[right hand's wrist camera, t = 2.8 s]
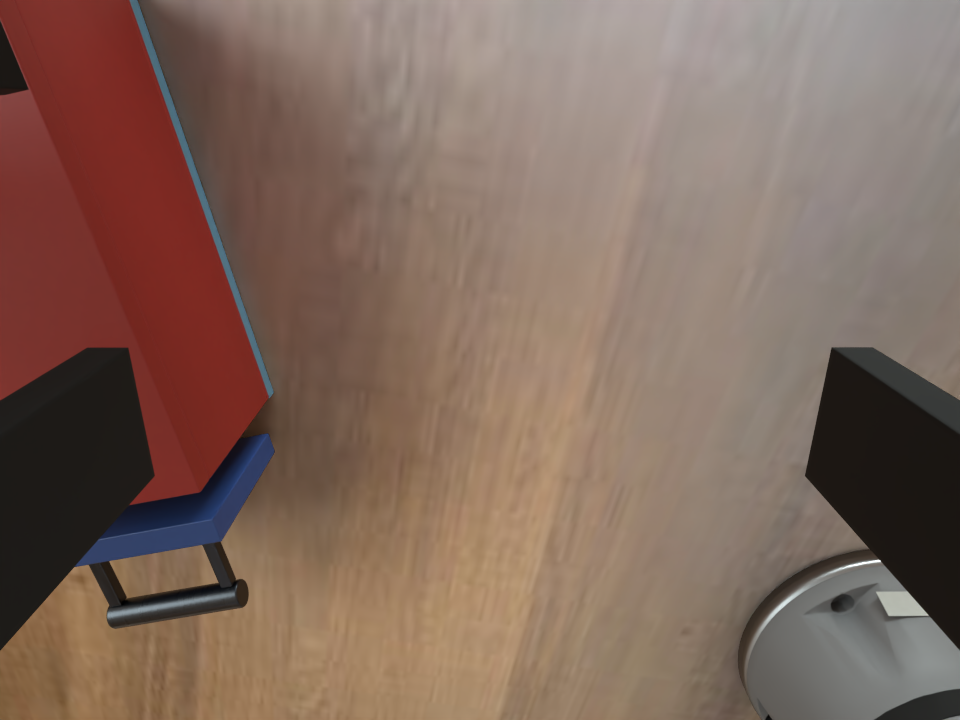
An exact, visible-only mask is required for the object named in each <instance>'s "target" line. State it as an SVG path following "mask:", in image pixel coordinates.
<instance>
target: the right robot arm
mask: <svg viewBox="0 0 960 720" xmlns="http://www.w3.org/2000/svg"><path fill="white" fill-rule="evenodd" d="M154 476H155V474H154V469H153V464H152V459H151V454H150V450H149V445H148V440H147V435H146V430H145V426H144V421H143V416H142V411H141V406H140V401H139V397H138V392H137V387H136V382H135V377H134V372H133V368H132V363H131V358H130V353H129V348H86V349H84V350H82V351H81V352H79V353H77V354H76V355H74V356H73V357H71V358H69V359H68V360H66V361H64V362H63V363H61V364H59V365H58V366H56V367H54V368H53V369H51V370H50V371H48V372H46V373H45V374H43V375H41V376H40V377H38V378H36V379H35V380H33V381H31V382H30V383H28V384H26V385H25V386H23V387H22V388H20V389H18V390H17V391H15V392H13V393H12V394H10V395H8V396H7V397H5V398H3V399H2V400H0V650H1V649H2V648H3V647H4V646H5V645H6V643H7V642H8V641H9V640H10V639H11V638H12V637H13V636H14V634H15V633H16V632H17V631H18V630H19V629H20V628H21V627H22V625H23V624H24V623H25V622H26V621H27V620H28V619H29V617H30V616H31V615H32V614H33V613H34V612H35V611H36V610H37V608H38V607H39V606H40V605H41V604H42V603H43V602H44V601H45V599H46V598H47V597H48V596H49V595H50V594H51V593H52V592H53V590H54V589H55V588H56V587H57V586H58V585H59V584H60V582H61V581H62V580H63V579H64V578H65V577H66V576H67V575H68V573H69V572H70V571H71V570H72V569H73V568H74V567H75V566H76V564H77V563H78V562H79V561H80V560H81V559H82V558H83V557H84V555H85V554H86V553H87V552H88V551H89V550H90V549H91V547H92V546H93V545H94V544H95V543H96V542H97V541H98V540H99V538H100V537H101V536H102V535H103V534H104V533H105V532H106V531H107V529H108V528H109V527H110V526H111V525H112V524H113V523H114V522H115V520H116V519H117V518H118V517H119V516H120V515H121V514H122V512H123V511H124V510H125V509H126V508H127V507H128V506H129V505H130V503H131V502H132V501H133V500H134V499H135V498H136V497H137V496H138V494H139V493H140V492H141V491H142V490H143V489H144V488H145V487H146V485H147V484H148V483H149V482H150V481H151V480H152V479H153V477H154ZM805 476H806V477H807V479H808V480H809V481H810V482H811V483H812V484H813V485H814V487H815V488H816V489H817V490H818V491H819V492H820V493H821V494H822V496H823V497H824V498H825V499H826V500H827V501H828V502H829V503H830V505H831V506H832V507H833V508H834V509H835V510H836V511H837V512H838V514H839V515H840V516H841V517H842V518H843V519H844V520H845V522H846V523H847V524H848V525H849V526H850V527H851V528H852V529H853V531H854V532H855V533H856V534H857V535H858V536H859V537H860V538H861V540H862V541H863V542H864V543H865V544H866V545H867V546H868V547H869V549H870V550H865V551H858V552H852V553H848V554H843V555H839V556H836V557H833V558H830V559H827V560H824V561H822V562H819V563H817V564H814V565H812V566H810V567H808V568H806V569H804V570H802V571H801V572H799V573H797V574H795V575H794V576H792V577H791V578H789V579H788V580H786V581H785V582H784V583H782V584H781V585H780V586H779V587H777V588H776V589H775V590H774V591H773V592H772V593H771V594H770V595H769V596H768V597H766V599H765V600H764V601H763V602H762V603H761V604H760V605H759V607H758V608H757V609H756V611H755V612H754V614H753V615H752V617H751V618H750V620H749V622H748V623H747V626H746V628H745V630H744V632H743V635H742V638H741V641H740V646H739V652H738V668H739V673H740V677H741V680H742V683H743V686H744V688H745V690H746V692H747V694H748V697H749V699H750V701H751V703H752V705H753V707H754V709H755V711H756V712H757V713H758V715H759V716H760V718H761V719H762V720H960V400H958V399H957V398H955V397H953V396H952V395H950V394H948V393H947V392H945V391H943V390H942V389H940V388H938V387H937V386H935V385H934V384H932V383H930V382H929V381H927V380H925V379H924V378H922V377H920V376H919V375H917V374H915V373H914V372H912V371H910V370H909V369H907V368H906V367H904V366H902V365H901V364H899V363H897V362H896V361H894V360H892V359H891V358H889V357H887V356H886V355H884V354H883V353H881V352H879V351H878V350H876V349H874V348H831V353H830V358H829V363H828V368H827V372H826V377H825V382H824V387H823V392H822V397H821V401H820V406H819V411H818V416H817V421H816V425H815V430H814V435H813V440H812V445H811V450H810V454H809V459H808V464H807V469H806V474H805Z"/></svg>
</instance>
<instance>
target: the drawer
mask: <svg viewBox="0 0 960 720" xmlns="http://www.w3.org/2000/svg"><path fill="white" fill-rule="evenodd" d="M274 452H275V451H274V448H273V445H272V442H271V440H270V437H269V434H262V435H257V436H251V437H246V438H241V439H238V441H237V442H236V444H235V445H234V446H233V448H232V449H231V450H230V452H229V453H228V455H227V456H226V457H225V459H224V460H223V461H222V463H221V464H220V466H219V467H218V468H217V470H216V471H215V472H214V474H213V475H212V477H211V478H210V479H209V481H208V482H207V484H206V485H205V486H204V488H203V489H202V491H201V492H199V493H193V494H188V495H182V496H177V497H171V498H166V499H160V500H155V501H149V502H144V503H138V504H133V505H129V506H128V507H127V508H126V509H125V510H124V511H123V512H122V514H121V515H120V516H119V517H118V518H117V519H116V520H115V522H114V523H113V524H112V525H111V526H110V527H109V528H108V529H107V531H106V532H105V533H104V534H103V535H102V536H101V537H100V538H99V540H98V541H97V542H96V543H95V544H94V545H93V546H92V547H91V549H90V550H89V551H88V552H87V553H86V554H85V555H84V557H83V558H82V559H81V560H80V561H79V562H78V563H77V564H76V566H75V567H77V566H83V565H89V566H90V568H91V570H92V572H93V574H94V576H95V578H96V580H97V582H98V584H99V586H100V588H101V590H102V592H103V594H104V596H105V598H106V599H107V601H108V603H109V607H108V610H107V621H108V624H109V626H110V627H112V628H114V629H117V628H123V627H129V626H135V625H141V624H147V623H153V622H159V621H165V620H171V619H177V618H183V617H189V616H195V615H201V614H207V613H213V612H219V611H225V610H231V609H237V608H242V607H244V606H245V605H246V604H247V601H248V596H249V592H248V586H247V583H246V582H245V581H244V580H243V579H238V580H236V578H235V575H234V573H233V570H232V568H231V566H230V563H229V561H228V558H227V556H226V554H225V551H224V549H223V546H222V544H221V541H222V540H223V538H224V536H225V535H226V533H227V531H228V529H229V528H230V526H231V524H232V523H233V521H234V519H235V518H236V516H237V514H238V513H239V511H240V509H241V508H242V506H243V504H244V503H245V501H246V499H247V498H248V496H249V494H250V493H251V491H252V489H253V488H254V486H255V484H256V483H257V481H258V479H259V478H260V476H261V474H262V472H263V471H264V469H265V467H266V466H267V464H268V462H269V461H270V459H271V457H272V456H273V454H274ZM198 545H203V547H204V549H205V552H206V554H207V556H208V559H209V561H210V563H211V566H212V568H213V570H214V573H215V575H216V577H217V580H218V582H219V583H215V584H209V585H203V586H197V587H191V588H185V589H179V590H174V591H168V592H162V593H156V594H150V595H144V596H138V597H132V598H127V597H126V595H125V593H124V591H123V589H122V587H121V585H120V583H119V581H118V579H117V577H116V575H115V573H114V571H113V569H112V567H111V565H110V562H109V561H112V560H118V559H123V558H129V557H135V556H140V555H146V554H152V553H158V552H163V551H169V550H175V549H181V548H186V547H192V546H198Z"/></svg>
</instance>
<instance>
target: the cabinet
mask: <svg viewBox="0 0 960 720" xmlns="http://www.w3.org/2000/svg"><path fill="white" fill-rule="evenodd" d="M0 21H1V23H2V26H3V28H4V31H5V33H6V35H7V38H8V40H9V43H10V45H11V47H12V50H13V52H14V55H15V57H16V59H17V62H18V64H19V67H20V69H21V72H22V74H23V76H24V79H25V81H26V84H27V86H28V88H29V90H25V91H20V92H16V93H12V94H7V95H0V400H2V399H3V398H5V397H7V396H8V395H10V394H12V393H13V392H15V391H17V390H18V389H20V388H22V387H23V386H25V385H26V384H28V383H30V382H31V381H33V380H35V379H36V378H38V377H40V376H41V375H43V374H45V373H46V372H48V371H50V370H51V369H53V368H54V367H56V366H58V365H59V364H61V363H63V362H64V361H66V360H68V359H69V358H71V357H73V356H74V355H76V354H77V353H79V352H81V351H82V350H84V349H86V348H129V353H130V358H131V363H132V368H133V372H134V377H135V382H136V387H137V392H138V397H139V401H140V406H141V411H142V416H143V421H144V426H145V430H146V435H147V440H148V445H149V450H150V454H151V459H152V464H153V469H154V474H155V476H154V477H153V479H152V480H151V481H150V482H149V483H148V484H147V485H146V487H145V488H144V489H143V490H142V491H141V492H140V493H139V494H138V496H137V497H136V498H135V499H134V500H133V501H132V502H131V503H130V505H133V504H138V503H144V502H149V501H155V500H160V499H166V498H171V497H177V496H182V495H188V494H193V493H199V492H201V491H202V489H203V488H204V486H205V485H206V484H207V482H208V481H209V479H210V478H211V477H212V475H213V474H214V472H215V471H216V470H217V468H218V467H219V466H220V464H221V463H222V461H223V460H224V459H225V457H226V456H227V455H228V453H229V452H230V450H231V449H232V448H233V446H234V445H235V444H236V442H237V441H238V439H239V438H240V437H241V435H242V434H243V433H244V431H245V430H246V429H247V427H248V426H249V424H250V423H251V422H252V420H253V419H254V418H255V416H256V415H257V413H258V412H259V411H260V409H261V408H262V407H263V405H264V404H265V402H266V401H267V399H268V398H270V397H271V396H272V394H273V393H274V392H273V389H272V386H271V383H270V380H269V377H268V374H267V371H266V369H265V366H264V363H263V360H262V357H261V354H260V351H259V348H258V346H257V343H256V340H255V337H254V334H253V331H252V328H251V325H250V323H249V320H248V317H247V314H246V311H245V308H244V305H243V302H242V300H241V297H240V294H239V291H238V288H237V285H236V282H235V279H234V277H233V274H232V271H231V268H230V265H229V262H228V259H227V256H226V254H225V251H224V248H223V245H222V242H221V239H220V236H219V233H218V231H217V228H216V225H215V222H214V219H213V216H212V213H211V210H210V208H209V205H208V202H207V199H206V196H205V193H204V190H203V187H202V185H201V182H200V179H199V176H198V173H197V170H196V167H195V164H194V162H193V159H192V156H191V153H190V150H189V147H188V144H187V141H186V139H185V136H184V133H183V130H182V127H181V124H180V121H179V118H178V116H177V113H176V110H175V107H174V104H173V101H172V98H171V95H170V93H169V90H168V87H167V84H166V81H165V78H164V75H163V72H162V70H161V67H160V64H159V61H158V58H157V55H156V52H155V49H154V47H153V44H152V41H151V38H150V35H149V32H148V29H147V26H146V24H145V21H144V18H143V15H142V12H141V9H140V6H139V3H138V1H137V0H0Z"/></svg>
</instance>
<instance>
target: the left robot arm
mask: <svg viewBox="0 0 960 720" xmlns="http://www.w3.org/2000/svg"><path fill="white" fill-rule="evenodd" d="M25 90H29V88H28V86H27V84H26V81H25V79H24V76H23V74H22V72H21V69H20V67H19V64H18V62H17V59H16V57H15V55H14V52H13V50H12V47H11V45H10V43H9V40H8V38H7V35H6V33H5V31H4V28H3V26H2V23H1V21H0V95H7V94H12V93H16V92H20V91H25Z"/></svg>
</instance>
